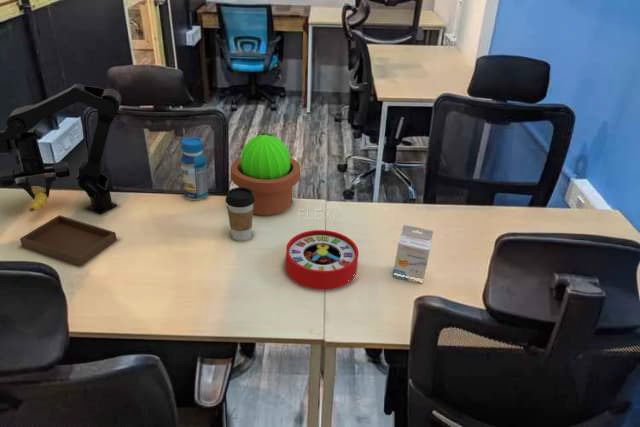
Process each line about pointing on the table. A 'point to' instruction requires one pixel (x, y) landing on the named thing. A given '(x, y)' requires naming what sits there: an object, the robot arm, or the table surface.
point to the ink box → (413, 253)
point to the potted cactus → (266, 174)
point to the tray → (69, 240)
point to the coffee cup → (240, 212)
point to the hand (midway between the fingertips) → (41, 198)
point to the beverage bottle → (194, 169)
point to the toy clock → (321, 259)
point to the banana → (38, 198)
